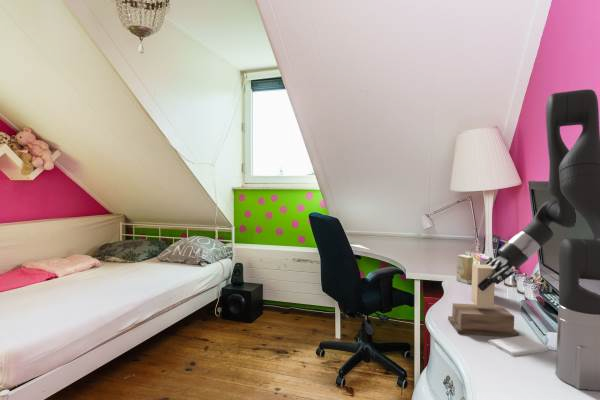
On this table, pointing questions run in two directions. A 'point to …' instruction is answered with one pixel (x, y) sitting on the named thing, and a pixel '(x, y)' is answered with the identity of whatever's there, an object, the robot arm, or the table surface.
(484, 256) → the candy bar box
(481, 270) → the tan carton
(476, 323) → the podium
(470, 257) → the skincare box
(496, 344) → the external hard drive
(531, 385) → the table surface
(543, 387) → the table surface
